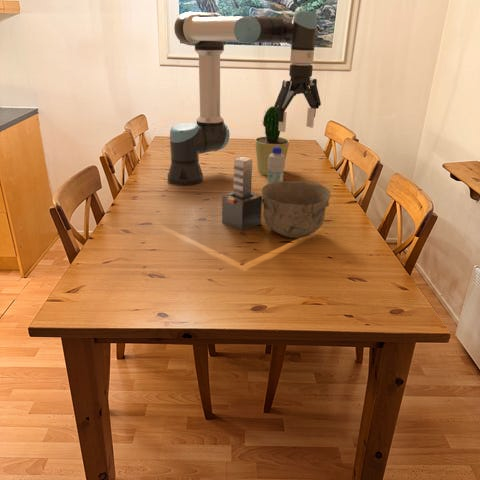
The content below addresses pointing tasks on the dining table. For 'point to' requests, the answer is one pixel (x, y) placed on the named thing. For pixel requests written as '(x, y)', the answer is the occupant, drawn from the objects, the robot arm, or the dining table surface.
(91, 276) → the dining table surface
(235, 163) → the column
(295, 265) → the dining table surface
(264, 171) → the potted cactus
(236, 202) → the stand base
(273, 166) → the bottle
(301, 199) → the bowl
